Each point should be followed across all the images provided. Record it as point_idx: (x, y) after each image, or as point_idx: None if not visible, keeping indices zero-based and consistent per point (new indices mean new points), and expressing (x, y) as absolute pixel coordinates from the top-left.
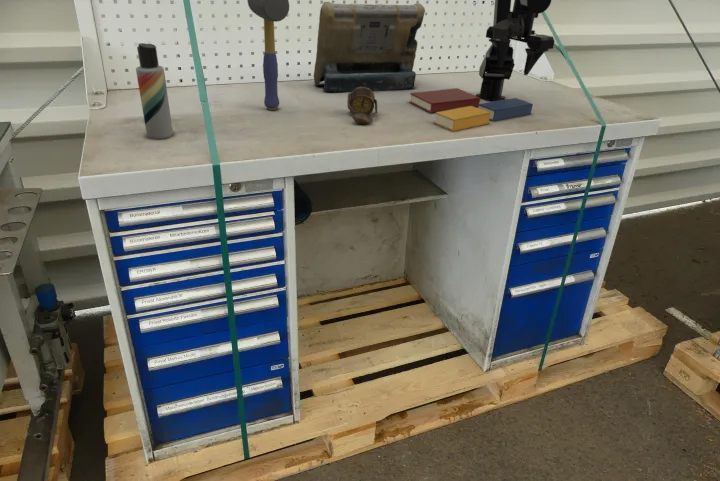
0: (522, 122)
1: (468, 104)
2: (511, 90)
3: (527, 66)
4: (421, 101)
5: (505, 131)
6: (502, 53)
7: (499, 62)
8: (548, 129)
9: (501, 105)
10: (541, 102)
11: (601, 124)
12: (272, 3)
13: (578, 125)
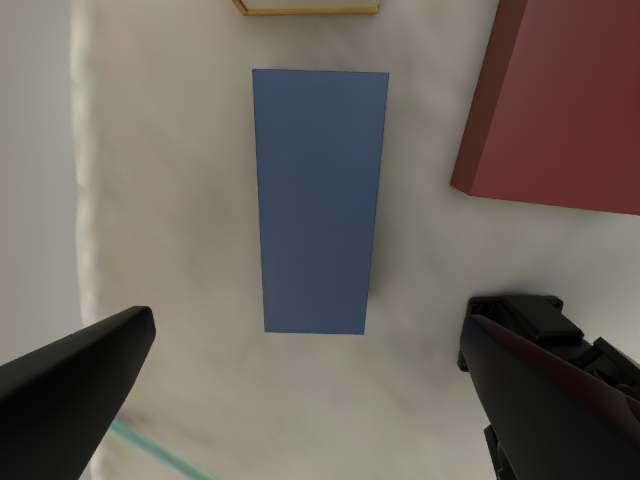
0: (204, 197)
1: (477, 115)
2: None
3: (38, 350)
4: None
5: (120, 5)
6: (561, 461)
7: (492, 337)
8: (98, 222)
9: (307, 180)
10: (356, 433)
11: None
12: None
13: None
